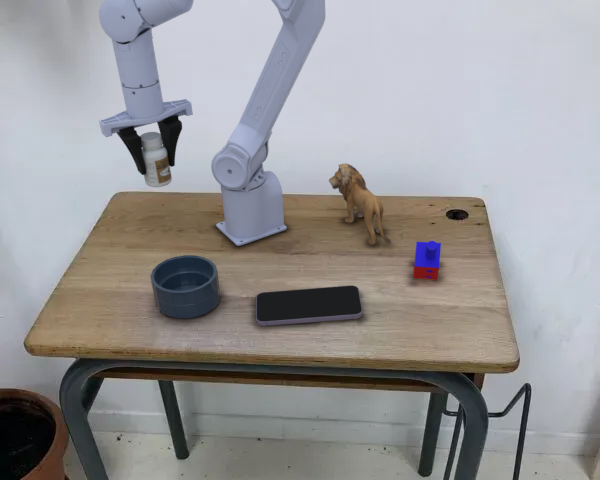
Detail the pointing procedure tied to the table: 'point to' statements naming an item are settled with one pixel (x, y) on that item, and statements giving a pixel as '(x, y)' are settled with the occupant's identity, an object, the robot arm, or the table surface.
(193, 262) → the bowl
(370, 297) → the table surface
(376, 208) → the lion figurine
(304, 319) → the smartphone
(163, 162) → the pill bottle
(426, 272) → the toy building block
